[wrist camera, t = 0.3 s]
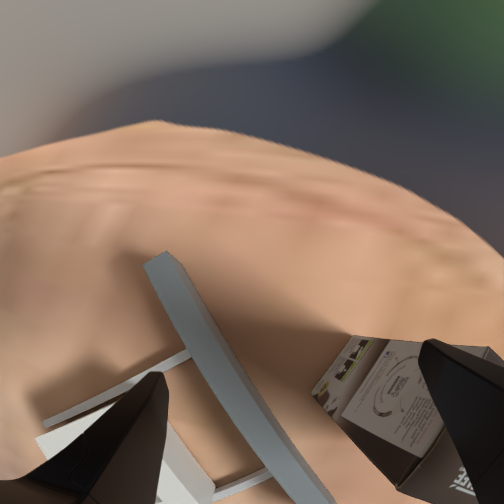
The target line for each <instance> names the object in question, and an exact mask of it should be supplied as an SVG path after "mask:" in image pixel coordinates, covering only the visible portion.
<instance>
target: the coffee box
mask: <svg viewBox="0 0 504 504" xmlns="http://www.w3.org/2000/svg"><path fill="white" fill-rule="evenodd" d="M421 346H422V342H412V341H403V340H390V339H381V338H374V337H364V336H357V335H353V336H352V337H351V339H350V340H349V342H348V343H347V344H346V346H345V347H344V349H343V350H342V351H341V353H340V354H339V355H338V357H337V358H336V359H335V361H334V362H333V363H332V365H331V366H330V367H329V369H328V370H327V371H326V373H325V374H324V375H323V377H322V378H321V379H320V380H319V382H318V383H317V384H316V386H315V387H314V388H313V390H312V392H311V394H312V396H313V397H314V398H315V399H316V401H317V402H318V403H319V404H320V405H321V406H322V407H323V409H324V410H325V411H326V412H327V413H328V414H329V415H330V416H331V418H332V419H333V420H334V421H335V422H336V423H337V424H338V425H339V427H340V428H341V429H342V430H343V431H344V432H345V433H346V434H347V435H348V437H349V438H350V439H351V440H352V441H353V442H354V443H355V445H356V446H357V447H358V448H359V449H360V450H361V451H362V452H363V453H364V454H365V455H366V456H367V458H368V459H369V460H370V461H371V462H372V463H373V464H374V465H375V466H376V467H377V468H378V469H379V470H380V471H381V472H382V473H383V474H384V475H385V476H386V478H387V479H388V480H389V481H390V482H391V483H392V484H393V485H394V486H395V488H396V490H397V491H399V492H401V493H404V494H406V495H409V496H411V497H414V498H417V499H420V500H423V501H426V502H429V503H432V504H479V503H478V501H477V498H476V495H475V493H474V490H473V488H472V485H471V483H470V480H469V478H468V475H467V473H466V470H465V468H464V466H463V463H462V461H461V459H460V457H459V454H458V452H457V450H456V448H455V446H454V443H453V441H452V439H451V437H450V435H449V433H448V431H447V428H446V426H445V424H444V422H443V420H442V418H441V416H440V414H439V412H438V410H437V408H436V406H435V404H434V402H433V400H432V398H431V396H430V393H429V391H428V388H427V386H426V383H425V380H424V378H423V375H422V373H421V371H420V368H419V366H418V357H419V353H420V350H421ZM451 346H454V347H456V348H458V349H461V350H463V351H466V352H468V353H470V354H473V355H475V356H478V357H480V358H482V359H485V360H487V361H490V362H492V363H495V364H497V365H500V366H502V367H504V361H503V360H502V359H501V358H500V357H499V356H498V355H497V354H496V353H495V352H494V351H493V350H492V349H491V348H490V347H489V346H487V347H478V346H463V345H451Z"/></svg>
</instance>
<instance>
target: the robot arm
mask: <svg viewBox="0 0 504 504" xmlns="http://www.w3.org/2000/svg"><path fill="white" fill-rule="evenodd" d="M418 366H419V368H420V371H421V373H422V375H423V378H424V380H425V383H426V386H427V388H428V391H429V393H430V396H431V398H432V400H433V402H434V404H435V406H436V408H437V410H438V412H439V414H440V416H441V418H442V420H443V422H444V424H445V426H446V428H447V431H448V433H449V435H450V437H451V439H452V441H453V443H454V446H455V448H456V450H457V452H458V454H459V457H460V459H461V461H462V463H463V466H464V468H465V470H466V473H467V475H468V478H469V480H470V483H471V485H472V488H473V490H474V493H475V495H476V498H477V501H478V503H479V504H504V367H502V366H500V365H497V364H495V363H492V362H490V361H487V360H485V359H482V358H480V357H478V356H475V355H473V354H470V353H468V352H466V351H463V350H461V349H458V348H456V347H454V346H451V345H449V344H446V343H444V342H441V341H439V340H437V339H428V340H425V341H424V342H423V343H422V346H421V350H420V353H419V357H418ZM168 404H169V390H168V387H167V384H166V380H165V377H164V374H163V372H161V371H150V372H148V373H147V374H146V375H145V376H144V377H143V378H142V379H141V380H140V381H139V382H138V383H136V384H135V385H134V386H133V387H132V388H131V389H130V390H129V391H128V392H127V393H126V394H124V395H123V396H122V397H121V398H120V399H119V400H118V401H117V402H116V403H115V404H114V405H112V406H111V407H110V408H109V409H108V410H107V411H106V412H105V413H104V414H103V415H101V416H100V417H99V418H98V419H97V420H96V421H95V422H94V423H93V424H91V425H90V426H89V427H88V428H87V429H86V430H85V431H84V432H83V433H84V434H83V433H81V434H80V435H79V436H78V437H77V438H76V439H75V440H73V441H72V442H71V443H70V444H69V445H68V446H66V447H65V448H64V449H63V450H61V451H60V452H59V453H57V454H56V455H54V456H53V457H52V458H50V459H49V460H47V461H46V462H45V463H43V464H42V465H40V466H39V467H37V468H36V469H34V470H33V471H31V472H30V473H28V474H27V475H25V476H23V477H21V478H18V479H14V480H0V504H155V501H156V495H157V488H158V482H159V476H160V470H161V464H162V459H163V453H164V448H165V442H166V436H167V420H168Z"/></svg>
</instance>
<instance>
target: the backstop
mask: <svg viewBox="0 0 504 504" xmlns="http://www.w3.org/2000/svg"><path fill="white" fill-rule="evenodd" d="M142 266H143V268H144V270H145V272H146V274H147V276H148V278H149V280H150V282H151V284H152V286H153V288H154V290H155V292H156V294H157V296H158V298H159V299H160V301H161V303H162V305H163V307H164V309H165V311H166V313H167V315H168V316H169V318H170V320H171V322H172V324H173V325H174V327H175V329H176V331H177V333H178V334H179V336H180V338H181V340H182V341H183V343H184V345H185V347H186V349H185V350H183V351H181V352H179V353H177V354H175V355H174V356H172V357H170V358H168V359H166V360H164V361H163V362H161V363H159V364H157V365H155V366H153V367H151V368H149V369H148V370H146V371H144V372H142V373H140V374H138V375H136V376H134V377H132V378H130V379H128V380H126V381H125V382H123V383H121V384H119V385H117V386H115V387H113V388H111V389H109V390H107V391H105V392H103V393H101V394H99V395H97V396H95V397H93V398H91V399H89V400H86V401H84V402H82V403H80V404H78V405H76V406H74V407H72V408H70V409H68V410H66V411H63V412H61V413H59V414H57V415H55V416H53V417H50V418H48V419H46V420H44V421H42V423H43V425H44V427H45V428H48V427H50V426H53V425H55V424H57V423H60V422H62V421H64V420H66V419H69V418H71V417H73V416H75V415H78V414H80V413H82V412H84V411H86V410H88V409H91V408H93V407H95V406H97V405H99V404H101V403H103V402H105V401H107V400H110V399H112V398H114V397H116V396H118V395H120V394H122V393H124V392H126V391H128V390H130V389H131V388H132V387H133V386H134V385H135V384H136V383H138V382H139V381H140V380H141V379H142V378H143V377H144V376H145V375H146V374H147V373H148V372H150V371H161V372H165V371H167V370H169V369H171V368H173V367H174V366H176V365H178V364H180V363H182V362H184V361H186V360H187V359H189V358H191V357H192V359H193V360H194V362H195V364H196V365H197V367H198V368H199V370H200V372H201V373H202V375H203V377H204V378H205V380H206V381H207V383H208V385H209V386H210V388H211V389H212V391H213V392H214V394H215V396H216V397H217V399H218V400H219V402H220V403H221V405H222V406H223V408H224V409H225V411H226V412H227V414H228V415H229V417H230V418H231V420H232V421H233V422H234V424H235V425H236V427H237V428H238V430H239V431H240V433H241V434H242V435H243V437H244V438H245V440H246V441H247V442H248V444H249V445H250V446H251V448H252V449H253V451H254V452H255V453H256V455H257V456H258V457H259V459H260V460H261V461H262V462H263V464H264V465H265V466H266V467H264V468H262V469H260V470H258V471H256V472H254V473H252V474H249V475H247V476H245V477H243V478H240V479H238V480H236V481H233V482H231V483H229V484H226V485H224V486H221V487H219V488H216V489H215V491H214V495H213V499H212V502H214V501H217V500H220V499H223V498H225V497H228V496H230V495H233V494H236V493H238V492H240V491H243V490H245V489H248V488H250V487H252V486H255V485H257V484H259V483H261V482H263V481H266V480H268V479H270V478H272V477H274V478H275V479H276V480H277V482H278V483H279V484H280V485H281V487H282V488H283V489H284V490H285V491H286V493H287V494H288V495H289V496H290V497H291V499H292V500H293V501H294V502H295V503H296V504H337V503H336V501H335V499H334V498H333V496H332V495H331V494H330V492H329V491H328V490H327V489H326V487H325V486H324V485H323V483H322V482H321V481H320V479H319V478H318V477H317V475H316V474H315V473H314V471H313V470H312V469H311V467H310V466H309V465H308V463H307V462H306V461H305V459H304V458H303V457H302V455H301V454H300V452H299V451H298V450H297V448H296V447H295V445H294V444H293V443H292V441H291V440H290V438H289V437H288V435H287V434H286V433H285V431H284V430H283V428H282V427H281V425H280V424H279V422H278V421H277V420H276V418H275V417H274V415H273V414H272V412H271V411H270V409H269V408H268V406H267V405H266V403H265V402H264V400H263V399H262V397H261V396H260V394H259V393H258V391H257V390H256V388H255V386H254V385H253V383H252V382H251V380H250V379H249V377H248V376H247V374H246V372H245V371H244V369H243V368H242V366H241V364H240V363H239V361H238V360H237V358H236V356H235V355H234V353H233V352H232V350H231V348H230V347H229V345H228V343H227V342H226V340H225V338H224V337H223V335H222V333H221V332H220V330H219V328H218V327H217V325H216V323H215V322H214V320H213V318H212V316H211V315H210V313H209V311H208V310H207V308H206V306H205V304H204V303H203V301H202V299H201V297H200V296H199V294H198V292H197V290H196V288H195V287H194V285H193V283H192V281H191V280H190V278H189V276H188V274H187V272H186V270H185V269H184V267H183V265H182V264H181V263H180V262H179V261H178V260H177V259H175V258H174V257H173V256H172V255H171V254H170V253H169V252H167V251H164V252H163V253H161V254H159V255H158V256H156V257H154V258H153V259H151V260H150V261H148V262H146V263H145V264H143V265H142Z"/></svg>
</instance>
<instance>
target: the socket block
mask: <svg viewBox="0 0 504 504" xmlns="http://www.w3.org/2000/svg"><path fill="white" fill-rule="evenodd" d="M116 402H117V401H116ZM116 402H114V403H112V404H109V405H107V406H105V407H103V408H101V409H99V410H97V411H94V412H92V413H90V414H88V415H86V416H83V417H81V418H79V419H77V420H74V421H72V422H70V423H67V424H65V425H63V426H61V427H59V428H56V429H54V430H52V431H50V432H47V433H45V434H43V435H41V436H38V437H36V438H35V440H36V442H37V443H38V445H39V447H40V448H41V450H42V452H43V453H44V455H45V457H46V458H47V460H49V459H50V458H52V457H53V456H54V455H56V454H57V453H59V452H60V451H61V450H63V449H64V448H65V447H66V446H68V445H69V444H70V443H71V442H72V441H73V440H75V439H76V438H77V437H78V436H79V435H80V434H81V433H83V432H84V431H85V430H86V429H87V428H88V427H89V426H90V425H91V424H93V423H94V422H95V421H96V420H97V419H98V418H99V417H100V416H101V415H103V414H104V413H105V412H106V411H107V410H108V409H109V408H110V407H111V406H112V405H114V404H115V403H116ZM83 434H84V433H83ZM215 487H216V485H215V484H214V483H213V482H212V480H211V479H210V478H209V477H208V475H207V474H206V473H205V472H204V470H203V469H202V468H201V466H200V465H199V464H198V463H197V461H196V460H195V459H194V457H193V456H192V455H191V453H190V452H189V450H188V449H187V448H186V446H185V445H184V444H183V442H182V441H181V439H180V438H179V436H178V435H177V434H176V432H175V431H174V429H173V428H172V426H171V425H170V423H169V422H168V420H167V436H166V442H165V448H164V453H163V459H162V464H161V470H160V476H159V482H158V488H157V495H156V501H155V504H211V503H212V499H213V495H214V491H215Z"/></svg>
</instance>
